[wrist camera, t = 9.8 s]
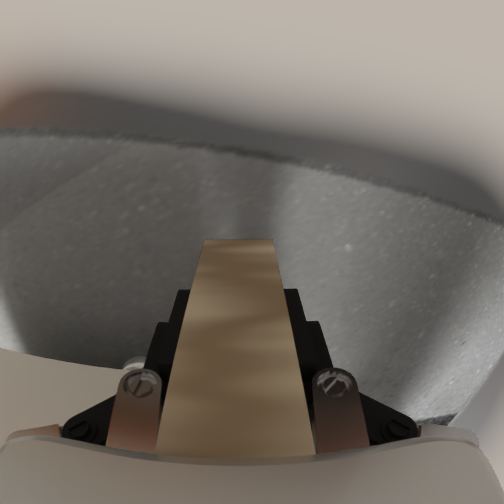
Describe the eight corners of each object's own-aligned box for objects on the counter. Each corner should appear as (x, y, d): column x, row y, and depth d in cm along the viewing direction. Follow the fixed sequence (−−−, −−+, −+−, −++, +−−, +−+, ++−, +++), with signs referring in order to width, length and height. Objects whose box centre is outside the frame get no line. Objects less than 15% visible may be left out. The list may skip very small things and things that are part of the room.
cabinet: (209, 322, 21) (181, 539, 8) (221, 431, 27) (216, 568, 13) (0, 307, 21) (-88, 419, 7) (52, 407, 27) (9, 509, 13)
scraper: (272, 239, 14) (323, 498, 4) (262, 446, 22) (270, 567, 12) (204, 239, 14) (146, 496, 4) (225, 447, 21) (223, 568, 12)
